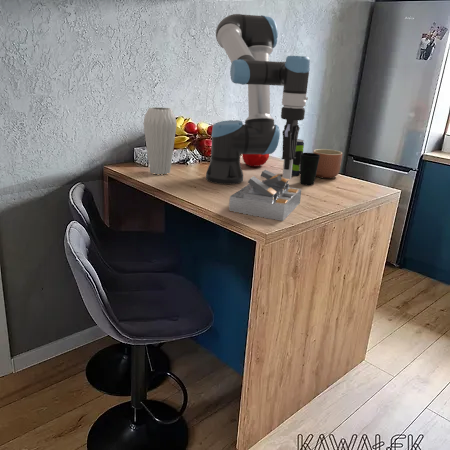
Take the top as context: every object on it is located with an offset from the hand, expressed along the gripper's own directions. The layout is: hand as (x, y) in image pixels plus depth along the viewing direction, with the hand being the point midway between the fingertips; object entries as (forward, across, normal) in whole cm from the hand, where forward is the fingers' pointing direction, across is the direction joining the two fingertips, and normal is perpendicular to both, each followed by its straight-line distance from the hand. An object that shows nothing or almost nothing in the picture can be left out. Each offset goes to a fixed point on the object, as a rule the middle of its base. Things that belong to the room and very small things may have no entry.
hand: (286, 178), depth 155 cm
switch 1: (+1, -7, +4) cm, 8 cm away
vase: (+9, +14, +57) cm, 60 cm away
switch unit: (+9, -7, +4) cm, 12 cm away
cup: (+9, +32, -1) cm, 33 cm away
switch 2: (+1, -14, +4) cm, 15 cm away
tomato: (+9, +51, +28) cm, 59 cm away
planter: (+9, +49, -5) cm, 50 cm away
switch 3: (+1, 0, +4) cm, 5 cm away
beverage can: (+9, +45, +8) cm, 47 cm away
